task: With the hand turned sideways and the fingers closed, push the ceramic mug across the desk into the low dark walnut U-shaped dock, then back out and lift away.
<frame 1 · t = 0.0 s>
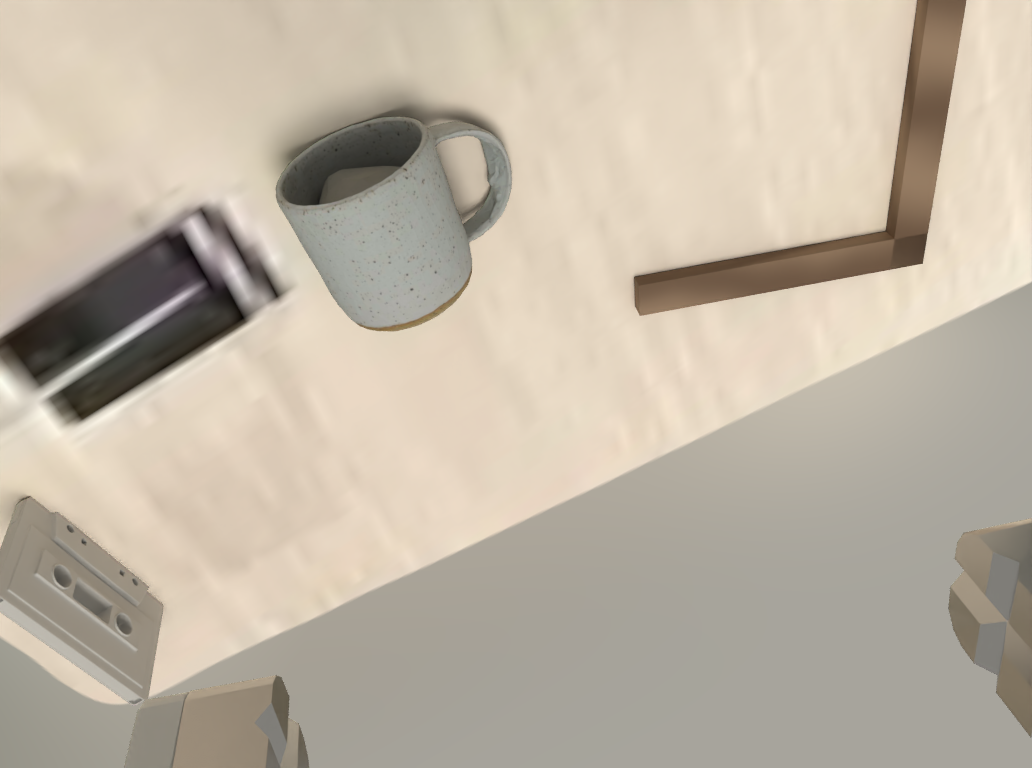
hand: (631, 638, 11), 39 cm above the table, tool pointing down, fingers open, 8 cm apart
cassette: (95, 553, 60), on the table
ceramic mug: (400, 180, 49), on the table
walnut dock: (768, 119, 50), on the table
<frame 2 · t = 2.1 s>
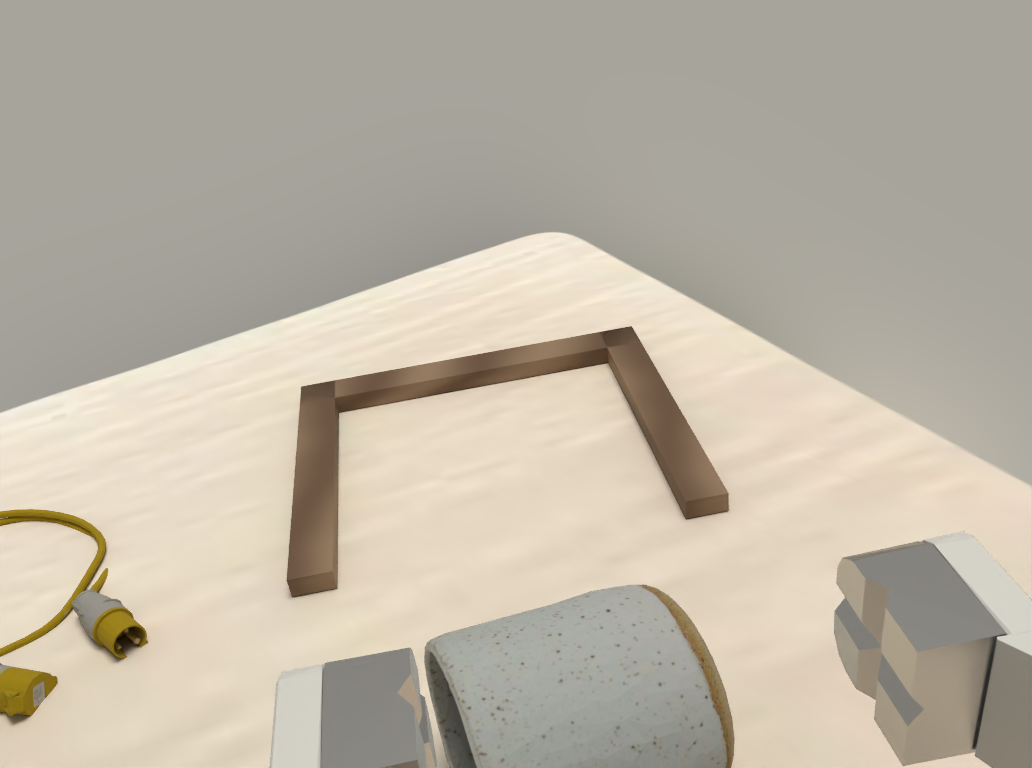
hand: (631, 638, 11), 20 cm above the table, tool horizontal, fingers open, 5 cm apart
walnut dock: (491, 459, 49), on the table
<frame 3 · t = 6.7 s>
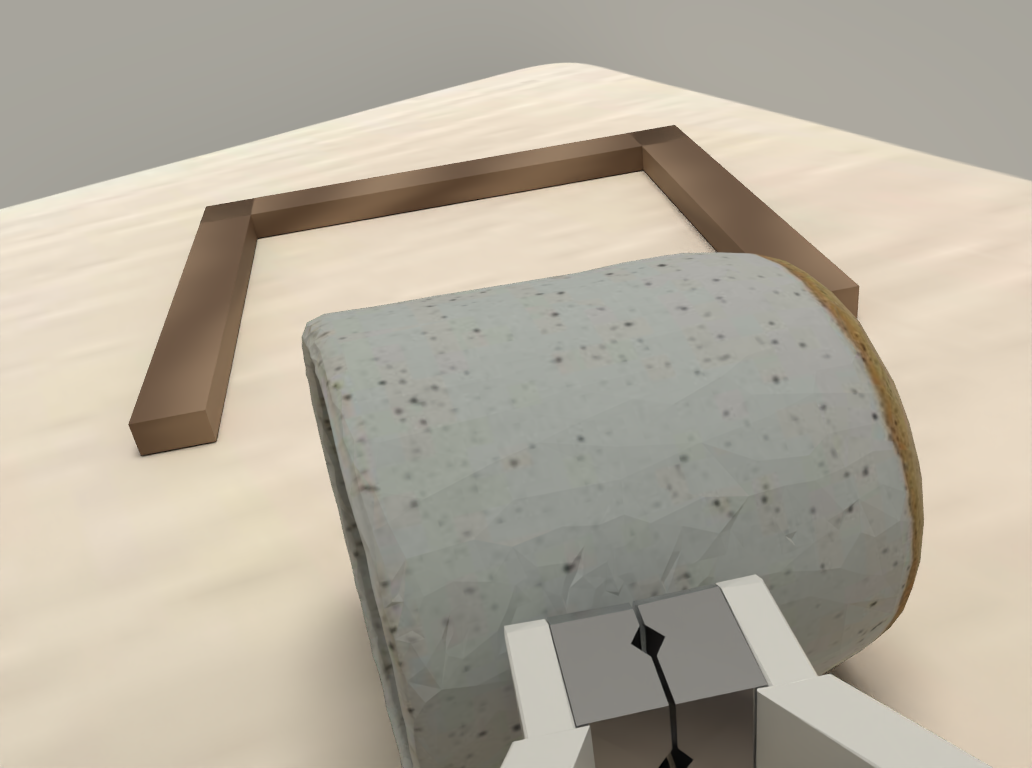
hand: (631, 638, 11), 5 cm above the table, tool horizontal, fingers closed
ceramic mug: (567, 625, 19), on the table, touching gripper
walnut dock: (475, 276, 33), on the table
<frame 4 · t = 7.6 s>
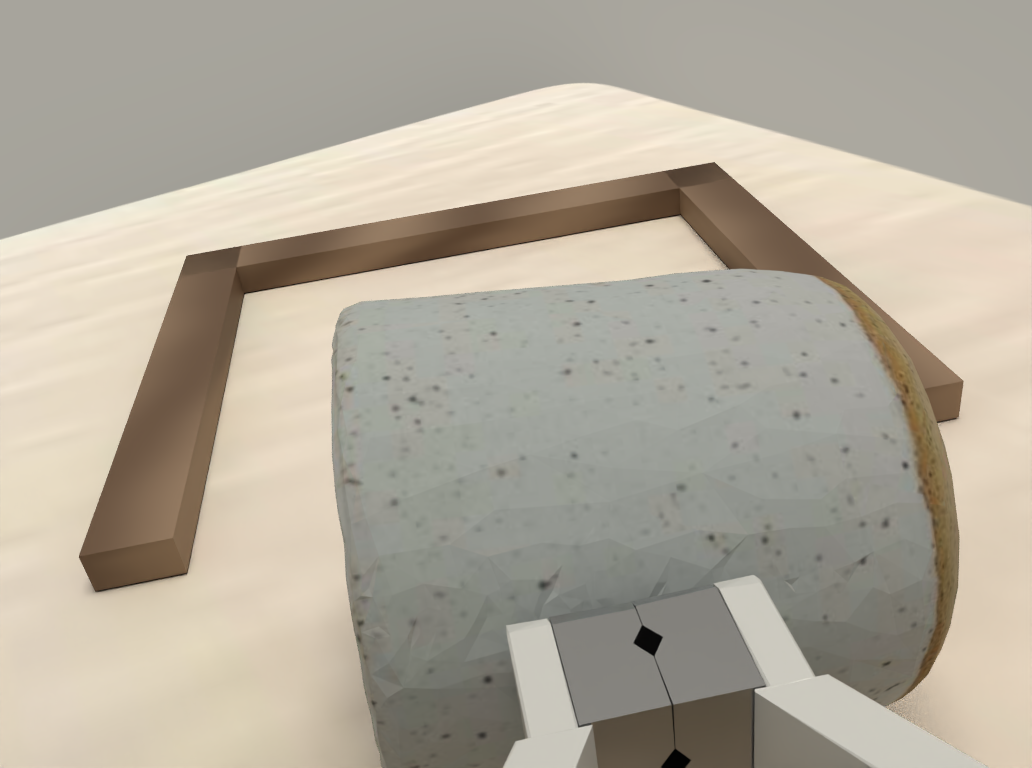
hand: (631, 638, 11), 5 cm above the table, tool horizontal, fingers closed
ceramic mug: (600, 633, 18), on the table
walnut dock: (495, 348, 28), on the table
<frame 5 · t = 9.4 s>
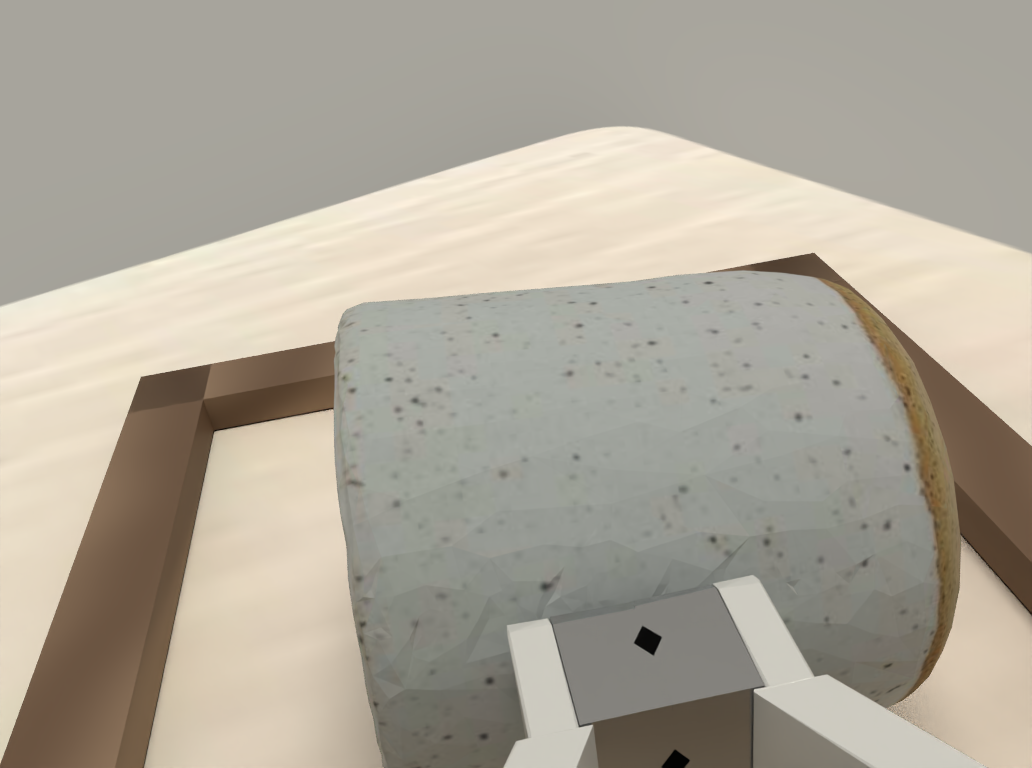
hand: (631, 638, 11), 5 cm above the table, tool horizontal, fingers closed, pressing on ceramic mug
ceramic mug: (601, 634, 18), on the table, touching gripper
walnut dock: (551, 547, 20), on the table
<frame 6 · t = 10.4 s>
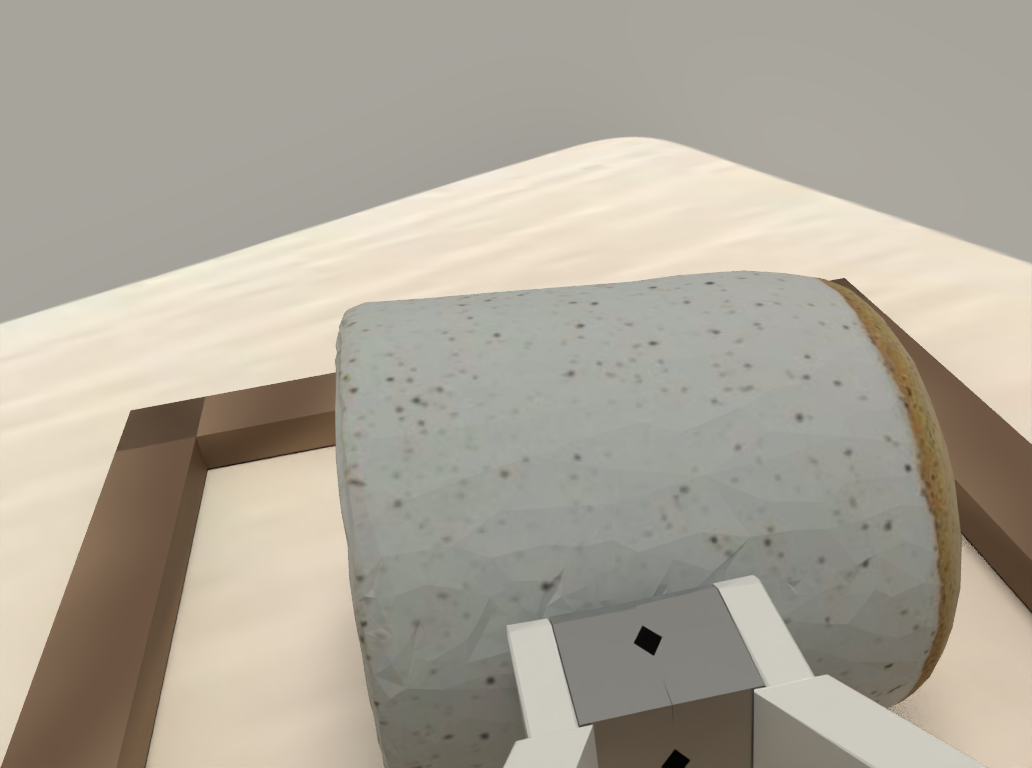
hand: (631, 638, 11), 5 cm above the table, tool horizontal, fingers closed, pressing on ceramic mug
ceramic mug: (602, 634, 18), on the table, touching gripper
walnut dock: (571, 608, 19), on the table
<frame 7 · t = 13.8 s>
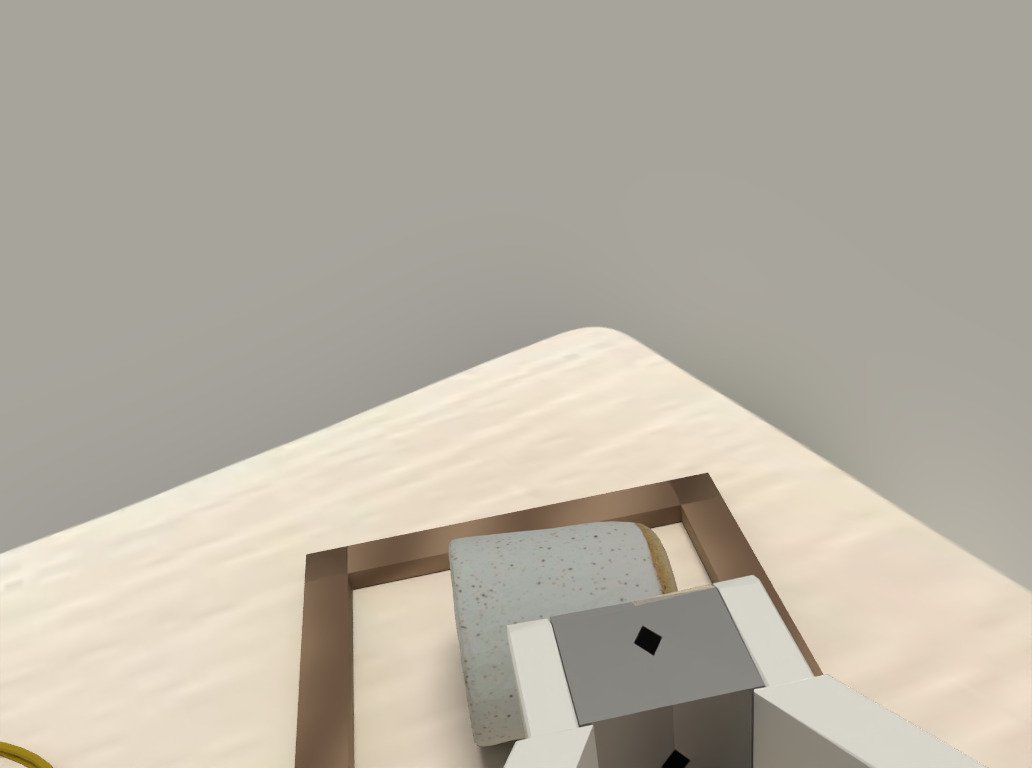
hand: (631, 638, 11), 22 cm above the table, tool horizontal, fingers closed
ceramic mug: (560, 671, 39), on the table
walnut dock: (547, 673, 39), on the table
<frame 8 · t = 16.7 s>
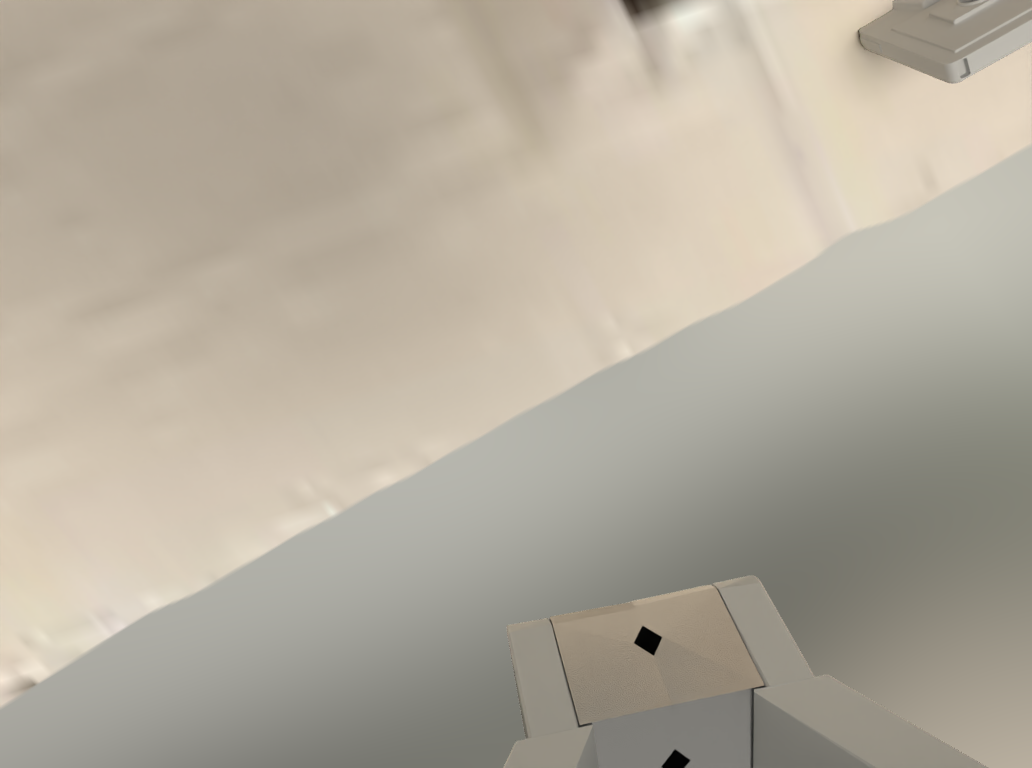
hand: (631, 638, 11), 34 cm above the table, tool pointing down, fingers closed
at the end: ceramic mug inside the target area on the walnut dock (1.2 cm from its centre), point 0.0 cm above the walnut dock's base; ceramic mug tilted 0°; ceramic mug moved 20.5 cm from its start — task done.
